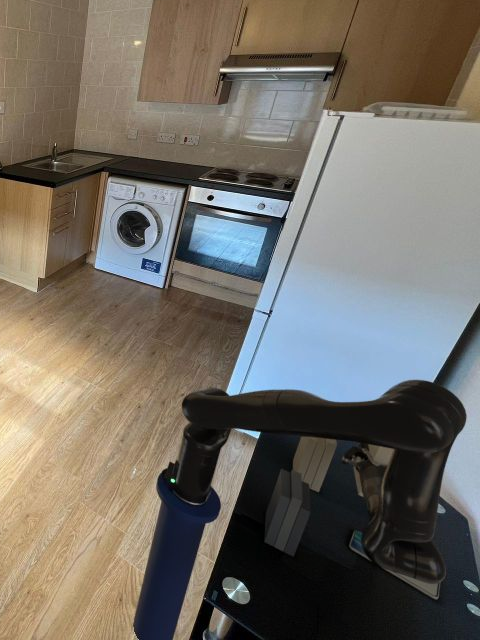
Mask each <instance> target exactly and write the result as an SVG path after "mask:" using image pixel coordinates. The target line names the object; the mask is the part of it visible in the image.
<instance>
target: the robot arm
mask: <svg viewBox="0 0 480 640" xmlns="http://www.w3.org/2000/svg"><path fill="white" fill-rule="evenodd" d="M180 405H181V406H180V409H181V414H182V415H183V417H184V418H185V419H186V421H187V422H188V423H187V424H186V425H185V426H184V427H183V429H182V433H181V438H180V441H179V446H178V449H177V450H178V451H177V454H176V458H175V460H174V462H172V461H169V462H168V464H167V467H166V468H164V469H162V470H161V472H162V477H163V480H164V481H166V480H169V481H170V485H169V489H168V490H169V491H171V492H172V493H173V494H174V495H175V496H176V497H177V498H178V499H179V500H181V501H182V502H184V503H186V504H188V505H191V506H203V505H205V504H206V502H207V499H208V497H209V495H210V493H209V490H210V487H211V486H212V483H213V479H214V475H215V472H216V469H217V466H218V463H219V462H218V461H219V457H220V454H221V451H222V448H223V447H224V446H225V445H226V444H227V442H228V440H229V437H230V434H231V432H232V429H234V430H235V429H236V430H244V431H250V432H256V433H265V434H273V435H274V434H275V435H281V436H290V437H298V438H299V437H300V438H301V437H315V438H324V439H333V440H336V441H347V442H353V443H359V445H358V446H354V445H353V446H351V447H350V448H349V449H348V450H346V451H345V452H344V453H343V454H342V455H343V456H342V458H341V459H340V460H341V461H340V462H341V464H343V465H346V466H347V465H351V466H353V467H355V468H356V470H357V471H358V472H359V476H360V482H361V487H362V493H363V497H362V498H363V501H364V502H365V504H366V509H367V513H368V518H369V522H368V523H367V524H366V525H365V527H364V529H363V530H362V532H361V533H362V537H361V544H362V548H363V551H364V553H365V554H366V556H367V557H368V558H369V559H370V560H371V561H370V560H369V561H370V562H372V563H373V564H374V565H376V566H378V567H380V568H381V569H383V568H385V569H388V570H390V571H393V572H396V573H399V574H402V575H405V576H408V577H411V578H414V579H416V580H419V581H422V582H425V583H429V584H437V583H440V584H441V582H443V581H444V579H445V577H446V575H447V567H446V563H445V560H444V558H443V555H442V554H441V552H440V550H439V549H438V547H437V546H436V544H435V543H434V542H433V541H432V540H433V539H434V538H433V537H434V536H435V530H436V524H437V517H438V511H439V503H440V497H441V496H440V495H441V490H442V482H443V478H444V472H445V468H446V466H447V462H448V459H449V455H450V453H451V450H452V447H453V445H454V443H455V441H456V440H457V437H458V436H459V434H460V433H461V432H462V431H463V430H464V428H465V426H466V423H467V417H468V416H467V415H468V414H467V411H466V408H465V405H464V404H463V403H462V401H461V400H460V398H459V397H458V396H457V395H455V394H454V393H453V391H451V390H449V389H448V388H446V387H444V386H443V385H440V384H438V383H435V382H433V381H429V380H425V379H408V380H403V381H400V382H398V383H396V384H394V385H392V386H391V387H390V388H389V389H387V390H386V391H385V392H384V393H383V394H382V395H380V397H378V398H376V399H372V400H364V401H363V400H362V401H333V400H329V399H325V398H324V397H321V396H319V395H317V394H314V393H312V392H309V391H305V390H302V389H294V388H293V389H292V388H291V389H289V388H287V389H282V388H281V389H280V388H279V389H276V388H275V389H274V388H273V389H263V390H262V389H261V390H253V391H247V392H243V393H238V394H233V395H230V394H228V393H227V392H226V391H225V390H224V389H222V388H218V387H208V388H204V389H199V390H196V391H191V392H190V393H188V394H187V395H185V396H184V397H183V399H182V401H181V404H180ZM368 444H370V445H375V446H380V447H386V448H391V449H393V452H392V455H391V458H390V461H389V463H388V465H387V467H384V466H381V465H379V464H378V462H376V461H374V460H373V457H372V455H371V454H370V452H369V447H368ZM357 457H359V458H360V460H361V461H360V462H357V461H356V459H357ZM165 473H166V474H165ZM210 492H211V491H210ZM385 569H384V570H385Z"/></svg>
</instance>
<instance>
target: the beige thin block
mask: <svg viewBox="0 0 480 640" xmlns="http://www.w3.org/2000/svg"><path fill="white" fill-rule="evenodd" d="M368 447H369V452H370V454H371V455H372V457H373V460H374V461H376V462H378V464H379V465H381V466H384V467H387V465H388V463H389V461H390V458H391V455H392V452H393V449H391V448H386V447H380V446H375V445H370V444H368ZM355 459H356V461H357V462H360V461H361V460H360V458H359V457H357V456H356V458H355ZM353 472H354V473H353V474H354V478H355V485H356V490H357V494H358V496H360V497H362V498H364V497H363V493H362V487H361V482H360V476H359V472H358V471H357V470H356V468H355V467H354V466H353Z"/></svg>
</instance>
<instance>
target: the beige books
mask: <svg viewBox="0 0 480 640" xmlns="http://www.w3.org/2000/svg"><path fill="white" fill-rule="evenodd" d="M337 447H338V442H337V440H333V439H324V438H315V437H300V440H299V442H298V445H297V447H296V451H295V454H294V457H293V460H292V470H294V471H296V472H299V473H301V478H302V481H303V482H306V483H308V484H309V490H312V491H313V492H314V491H315V492H317V493H319V492H320V491H321V488H322V486H323V484H324V483H323V482H324V480H325V478H326V475H327V473H328V469H329V467H330V464H331V462H332V460H333V457H334V454H335V451H336V449H337Z"/></svg>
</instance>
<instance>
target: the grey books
mask: <svg viewBox="0 0 480 640" xmlns="http://www.w3.org/2000/svg"><path fill="white" fill-rule="evenodd" d="M310 491H311V489H309V484H308V483H306V482H303V481H302V478H301V473H299V472H296V471H294V470H293V469H291V471H287V470H285V469H283V468H281V469H280V472H279V475H278V477H277V480H276V483H275V487H274V488H273V492H272V495H271V497H270V500H269V503H268V506H267V510H266V512H265V522H264V523H265V525H264V539H263V542H264V543H265V544H267V545H269V546H271V547H274V548H275V549H277V550H279V551H281V552H284V553H285V554H287V555H289V556H291V557H295V554H296V552H297V549H298V546H299V545H300V542H301V539H302V537H303V533H304V532H305V528H306V526H307V523H308V521H309V518H310V516H311V513H312V509H311V508H312V507H311V492H310Z"/></svg>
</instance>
